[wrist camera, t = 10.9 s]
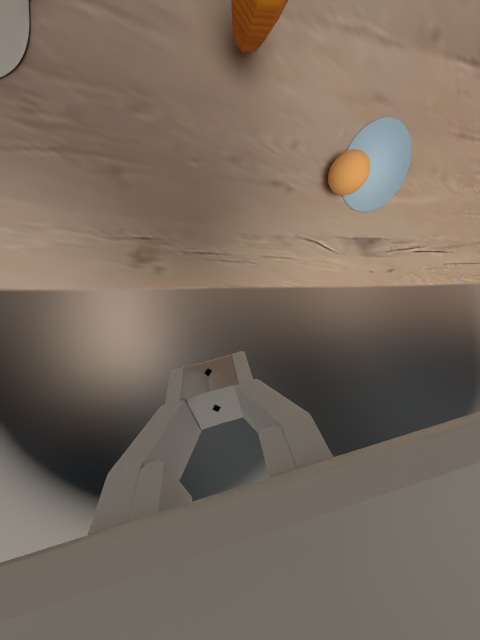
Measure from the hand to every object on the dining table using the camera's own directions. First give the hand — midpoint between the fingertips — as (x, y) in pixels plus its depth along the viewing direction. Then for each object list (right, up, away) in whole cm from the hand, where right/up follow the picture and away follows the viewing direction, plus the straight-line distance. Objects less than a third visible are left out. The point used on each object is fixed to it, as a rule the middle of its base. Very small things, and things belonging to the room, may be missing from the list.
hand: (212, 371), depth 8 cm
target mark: (+23, +26, +24) cm, 42 cm away
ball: (+17, +23, +21) cm, 36 cm away
